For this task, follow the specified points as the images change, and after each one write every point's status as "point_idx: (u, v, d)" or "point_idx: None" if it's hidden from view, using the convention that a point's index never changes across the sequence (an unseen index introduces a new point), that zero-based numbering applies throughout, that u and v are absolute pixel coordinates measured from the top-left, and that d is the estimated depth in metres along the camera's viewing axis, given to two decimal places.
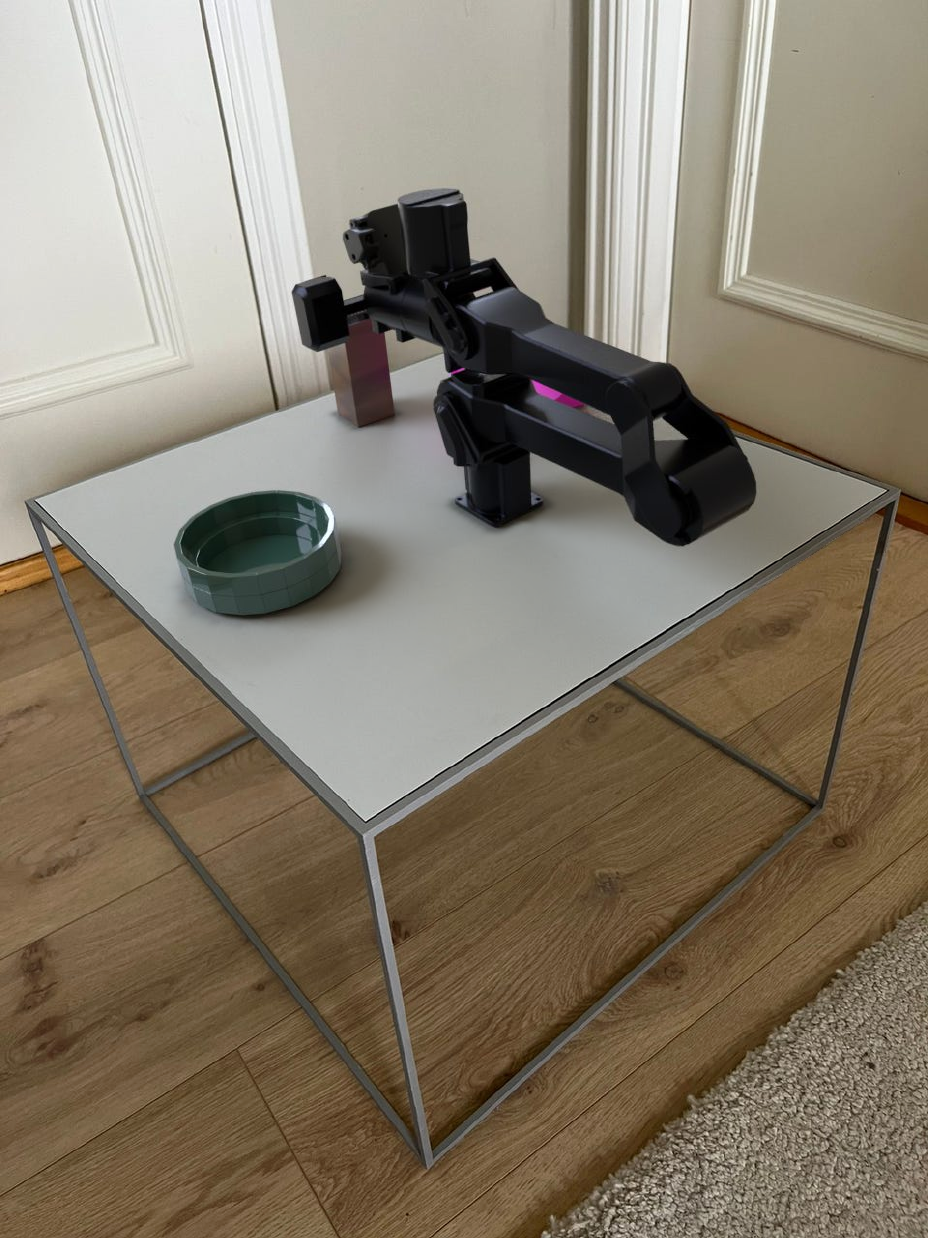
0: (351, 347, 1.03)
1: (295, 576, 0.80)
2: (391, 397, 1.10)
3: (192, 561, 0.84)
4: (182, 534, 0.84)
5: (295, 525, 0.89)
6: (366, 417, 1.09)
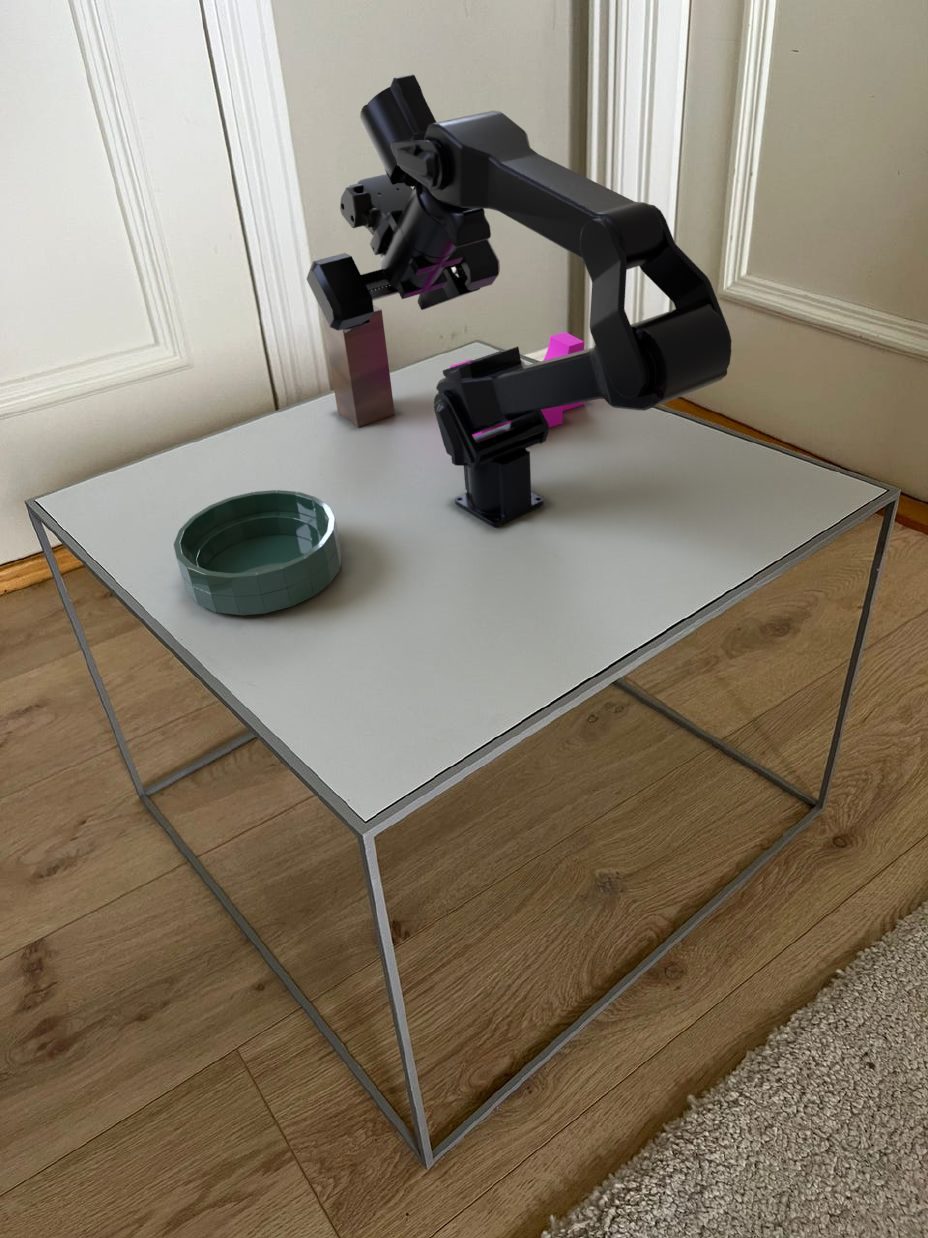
0: (351, 347, 1.03)
1: (295, 576, 0.80)
2: (391, 397, 1.10)
3: (192, 561, 0.84)
4: (182, 534, 0.84)
5: (295, 525, 0.89)
6: (366, 417, 1.09)
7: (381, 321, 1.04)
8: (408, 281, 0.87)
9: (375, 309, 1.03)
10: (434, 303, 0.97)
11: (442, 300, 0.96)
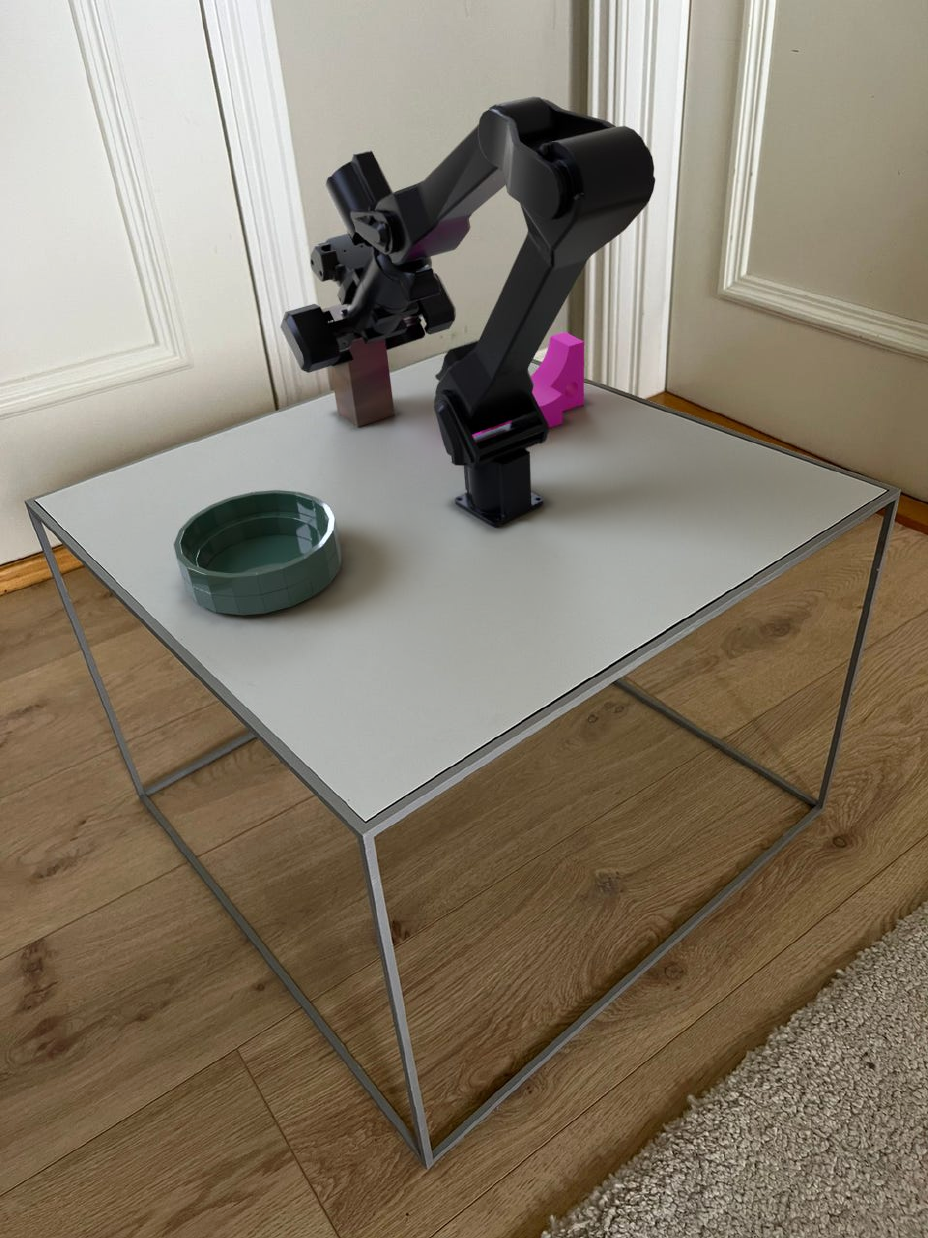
0: (351, 347, 1.03)
1: (295, 576, 0.80)
2: (391, 397, 1.10)
3: (192, 561, 0.84)
4: (182, 534, 0.84)
5: (295, 525, 0.89)
6: (366, 417, 1.09)
7: None
8: (371, 329, 0.98)
9: None
10: None
11: (390, 347, 1.06)
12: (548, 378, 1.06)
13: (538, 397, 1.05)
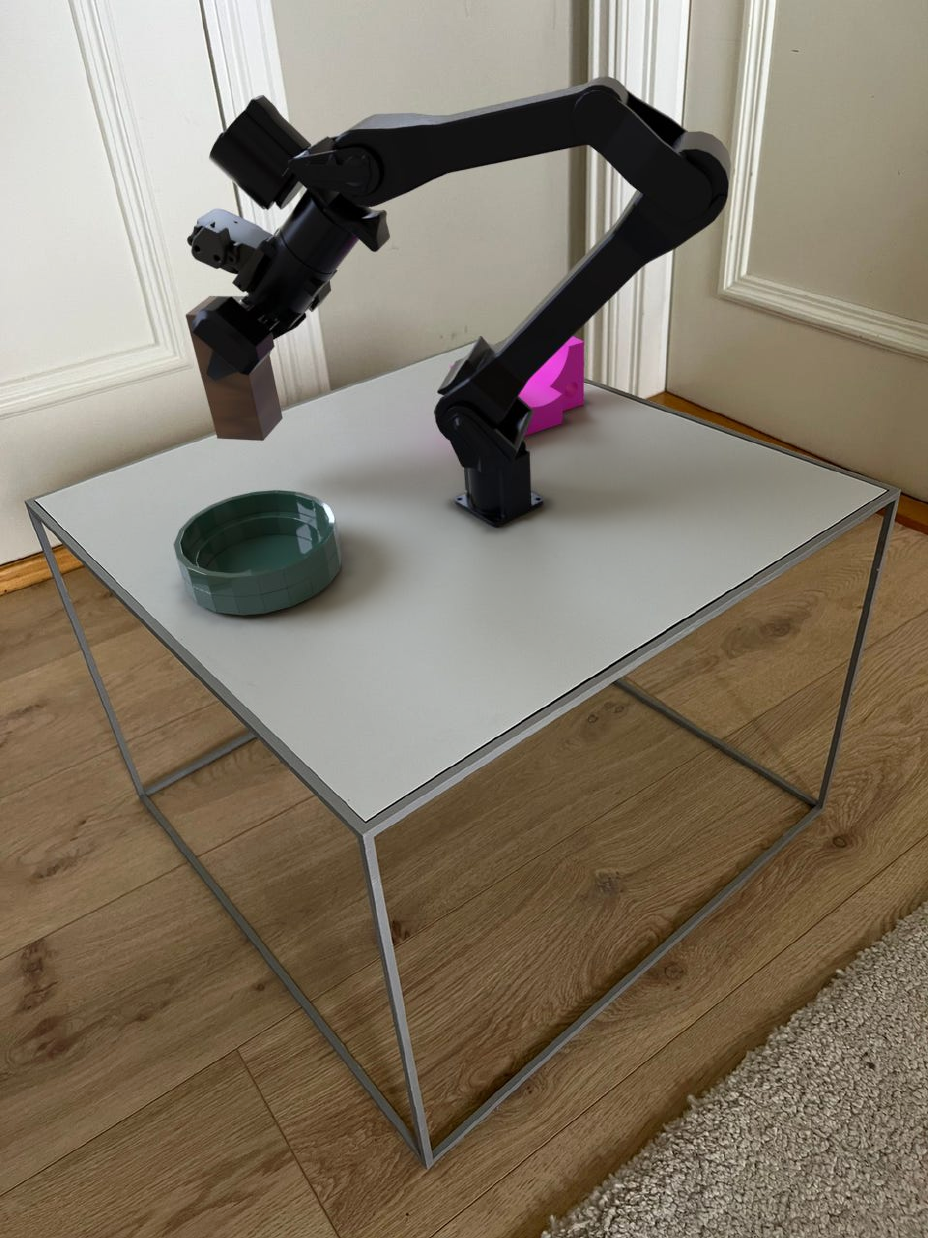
0: None
1: (295, 576, 0.80)
2: (278, 399, 0.95)
3: (192, 561, 0.84)
4: (182, 534, 0.84)
5: (295, 525, 0.89)
6: (266, 427, 0.93)
7: None
8: (293, 308, 0.84)
9: None
10: None
11: None
12: (548, 378, 1.06)
13: (538, 397, 1.05)
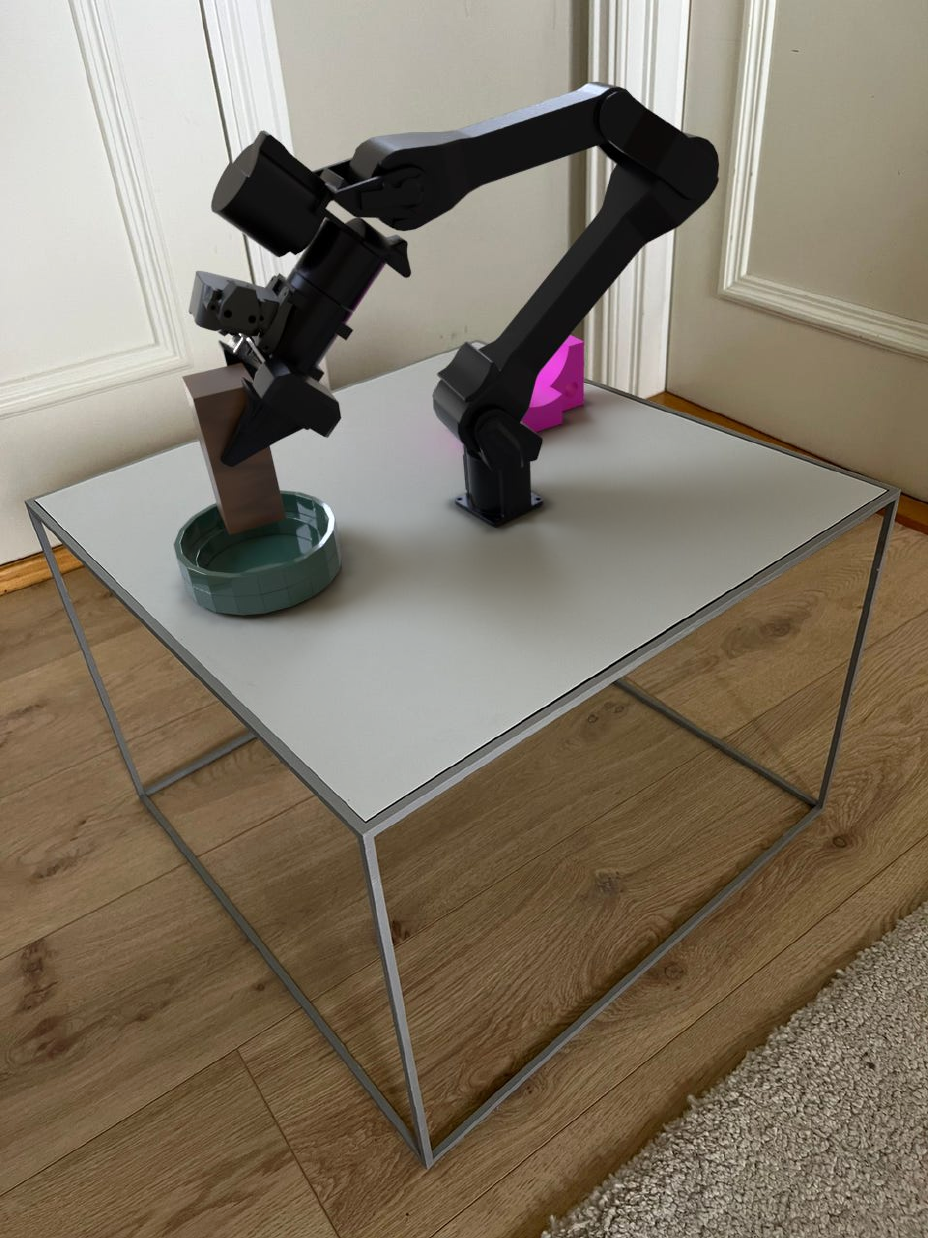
0: None
1: (295, 576, 0.80)
2: None
3: (192, 561, 0.84)
4: (182, 534, 0.84)
5: (295, 525, 0.89)
6: None
7: None
8: (320, 359, 0.76)
9: (237, 365, 0.77)
10: None
11: None
12: (548, 378, 1.06)
13: (538, 397, 1.05)
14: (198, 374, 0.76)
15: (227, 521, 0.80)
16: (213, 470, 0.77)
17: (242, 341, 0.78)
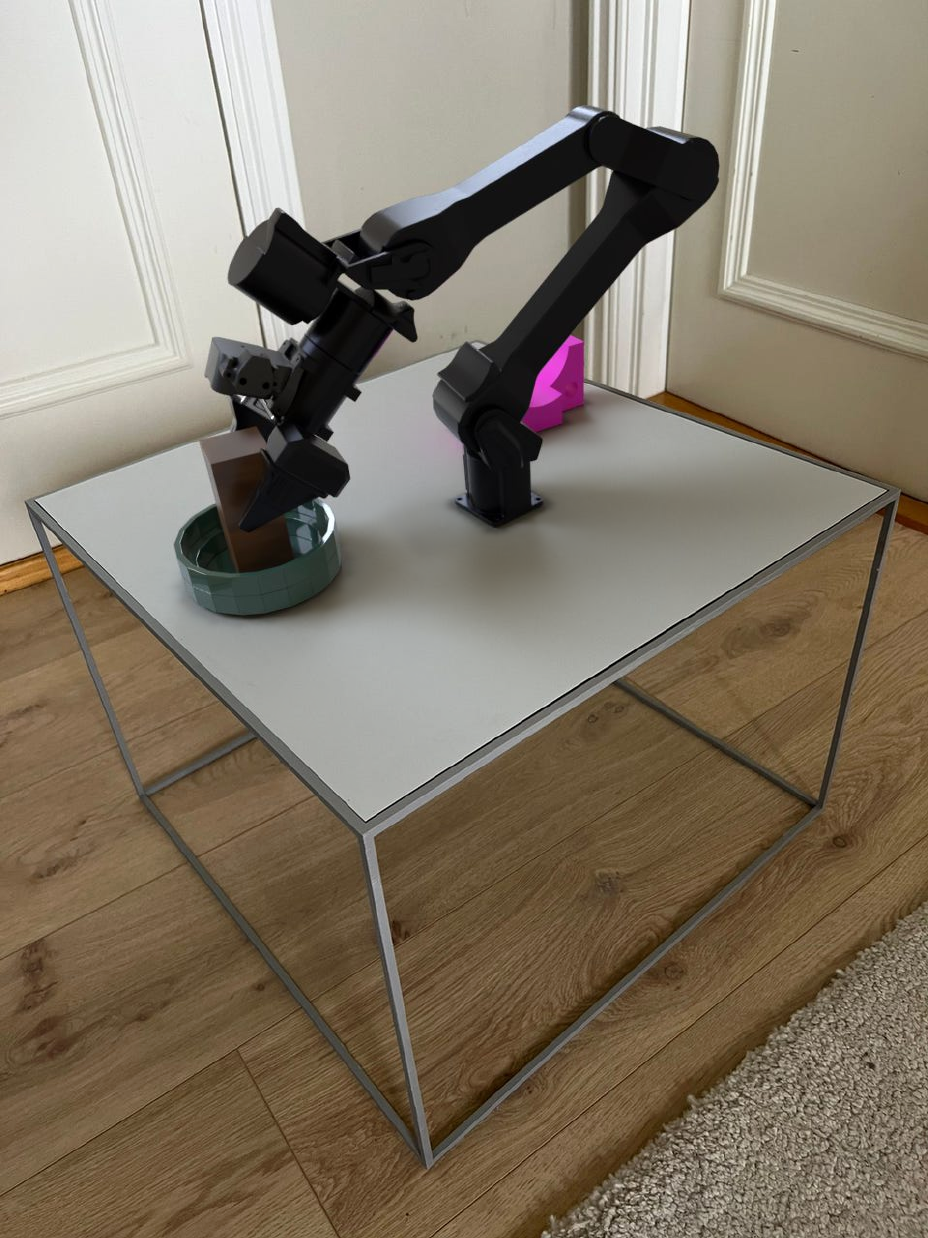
0: None
1: (295, 576, 0.80)
2: None
3: (192, 561, 0.84)
4: (182, 534, 0.84)
5: (295, 525, 0.89)
6: None
7: None
8: (330, 419, 0.79)
9: (252, 429, 0.81)
10: None
11: None
12: (548, 378, 1.06)
13: (538, 397, 1.05)
14: (215, 438, 0.80)
15: None
16: (228, 529, 0.80)
17: None
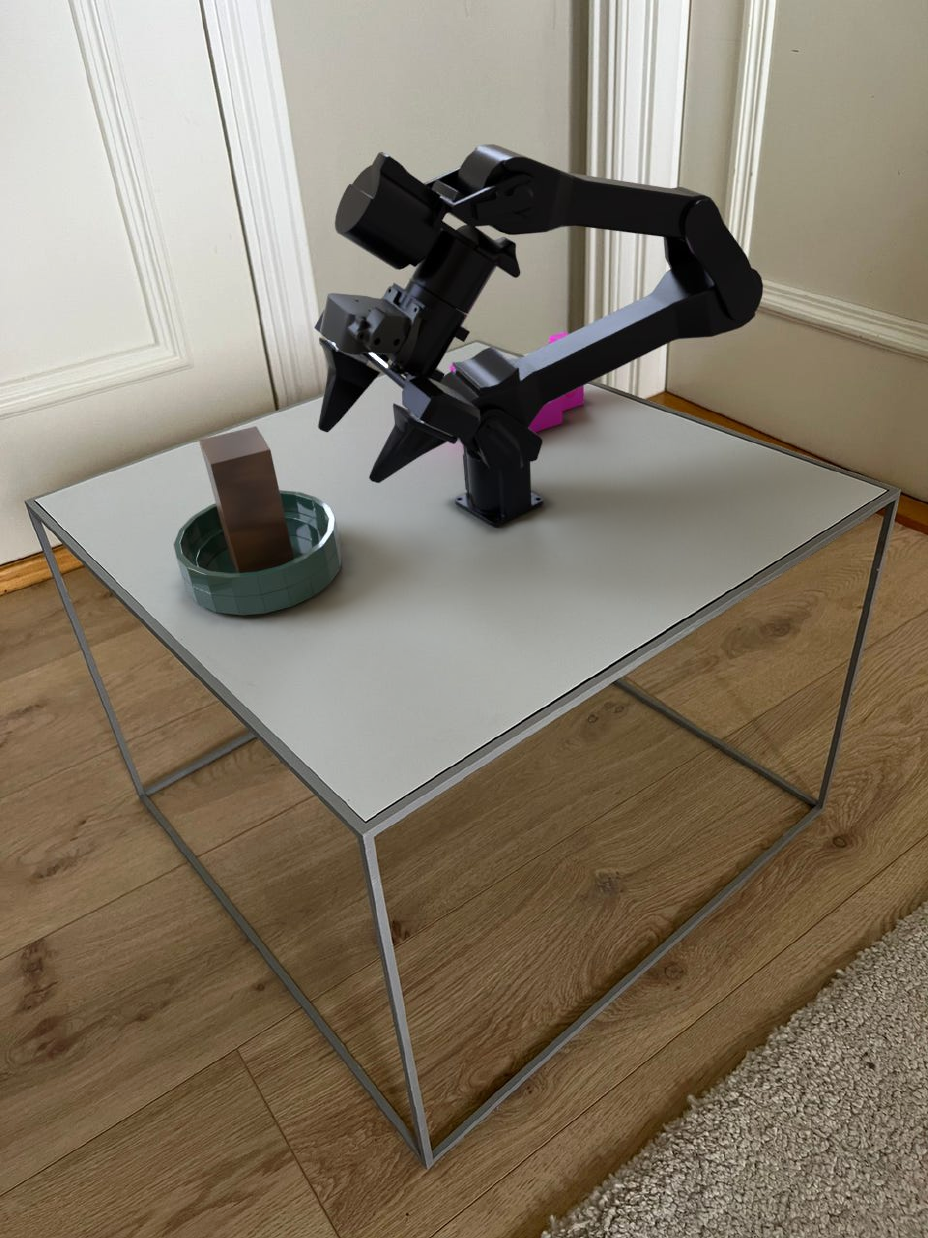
0: None
1: (295, 576, 0.80)
2: None
3: (192, 561, 0.84)
4: (182, 534, 0.84)
5: (295, 525, 0.89)
6: None
7: None
8: (440, 361, 0.81)
9: (252, 429, 0.81)
10: (348, 409, 0.86)
11: (358, 397, 0.86)
12: None
13: None
14: (215, 438, 0.80)
15: None
16: (228, 529, 0.80)
17: None
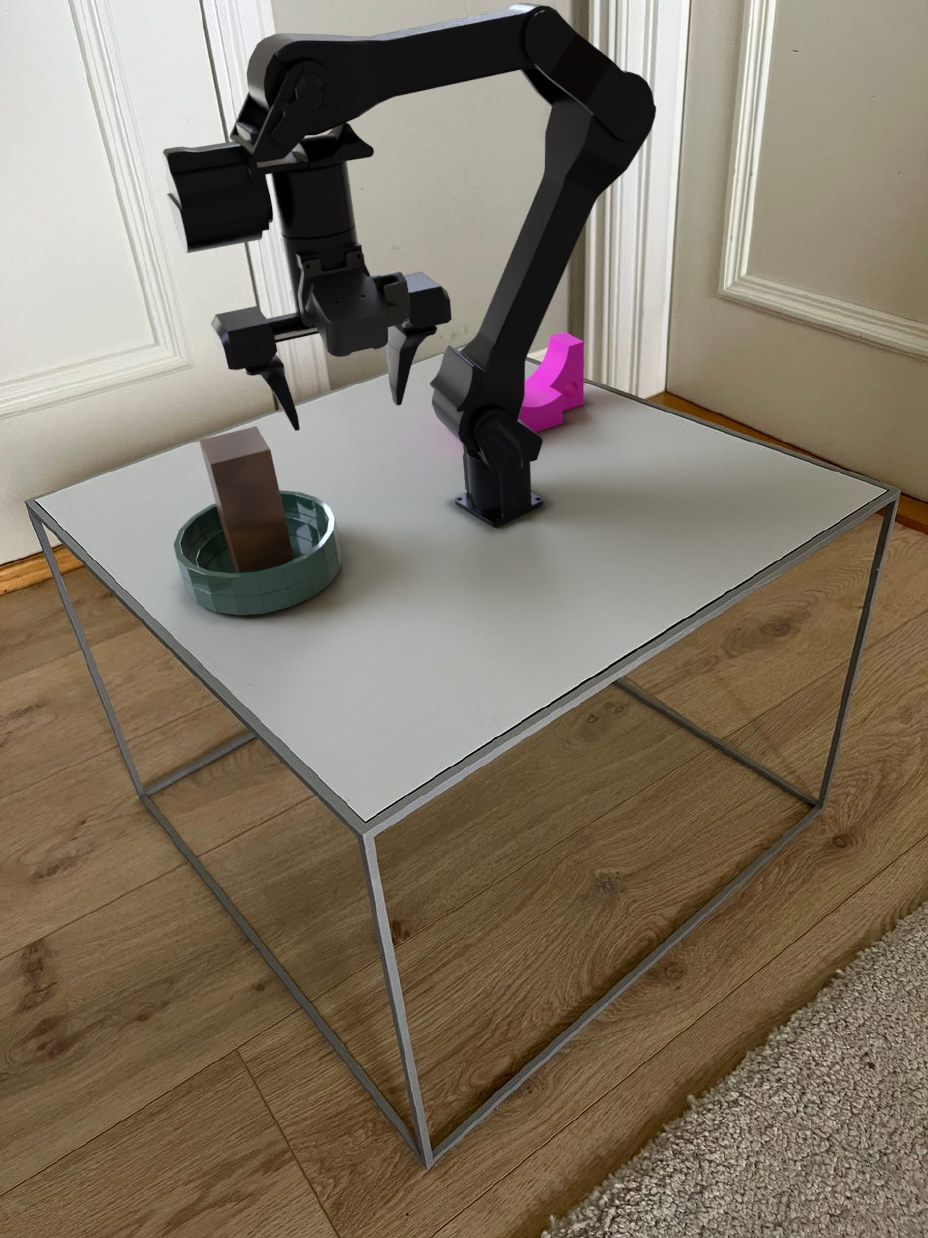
0: None
1: (295, 576, 0.80)
2: None
3: (192, 561, 0.84)
4: (182, 534, 0.84)
5: (295, 525, 0.89)
6: None
7: None
8: None
9: (252, 429, 0.81)
10: None
11: None
12: (548, 378, 1.06)
13: (538, 397, 1.05)
14: (215, 438, 0.80)
15: None
16: (228, 529, 0.80)
17: None
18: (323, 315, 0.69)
